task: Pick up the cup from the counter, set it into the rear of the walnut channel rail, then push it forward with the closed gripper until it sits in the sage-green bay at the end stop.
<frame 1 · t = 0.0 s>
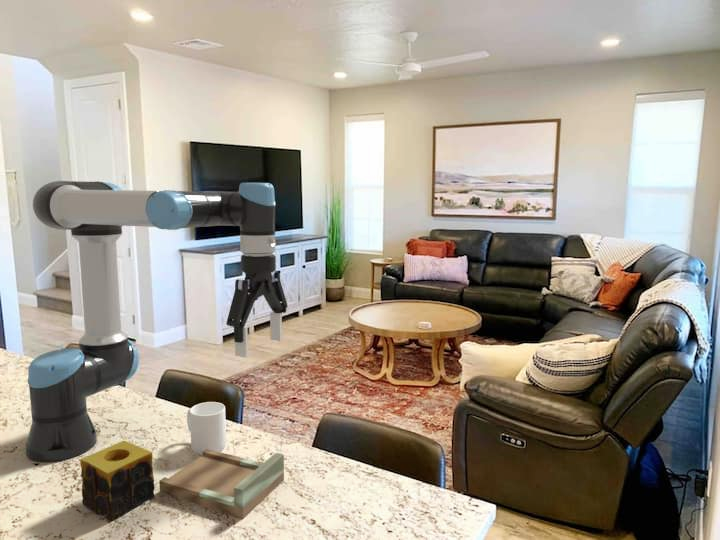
hand: (259, 347, 117), 28 cm above the kitchen island, fingers open, 13 cm apart
cup: (204, 446, 130), on the kitchen island
candle: (119, 502, 106), on the kitchen island
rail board: (223, 486, 111), on the kitchen island
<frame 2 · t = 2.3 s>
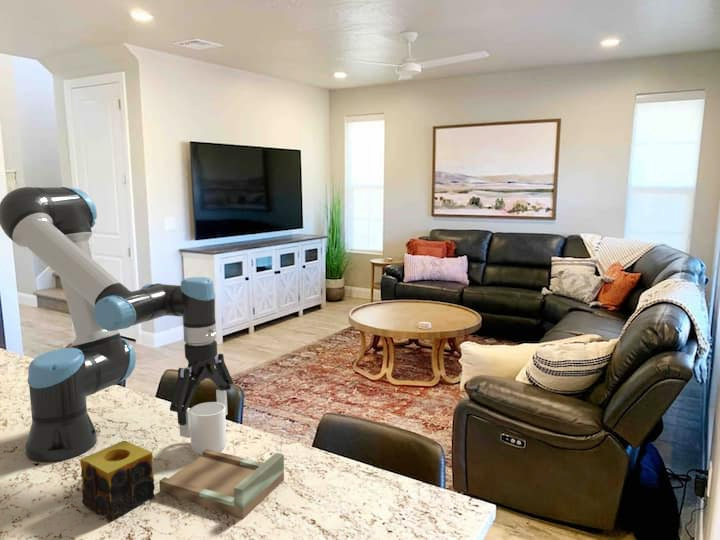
hand: (204, 424, 129), 5 cm above the kitchen island, fingers open, 13 cm apart
nothing on the kitchen island moved.
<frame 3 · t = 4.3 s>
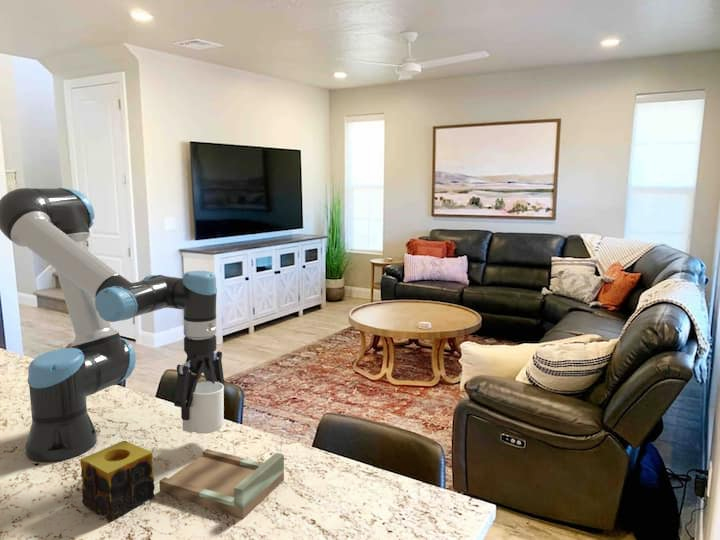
hand: (200, 423, 129), 6 cm above the kitchen island, fingers closed on cup, 8 cm apart
cup: (201, 424, 129), point 5 cm above the kitchen island, touching gripper
everything else where it was.
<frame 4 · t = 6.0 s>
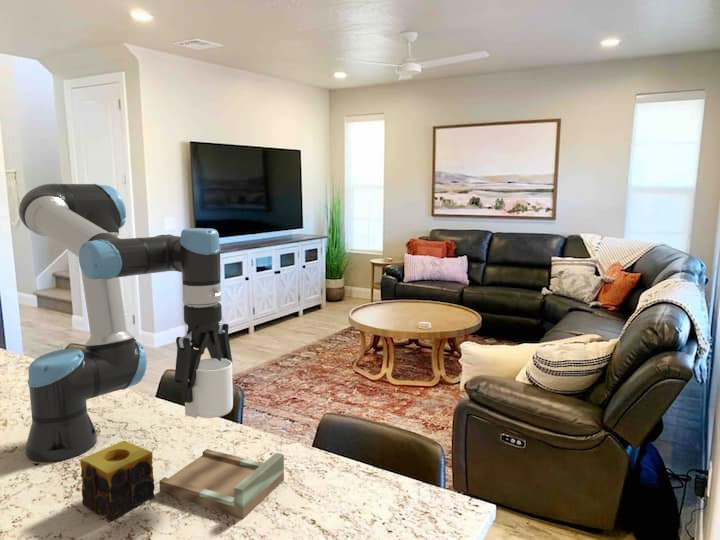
hand: (206, 407, 111), 17 cm above the kitchen island, fingers closed on cup, 8 cm apart
cup: (207, 409, 111), point 17 cm above the kitchen island, touching gripper
everything else where it was.
when the fingers open (3 cm above the kitchen island, at t = 7.9 s): cup stays where it is, resting on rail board.
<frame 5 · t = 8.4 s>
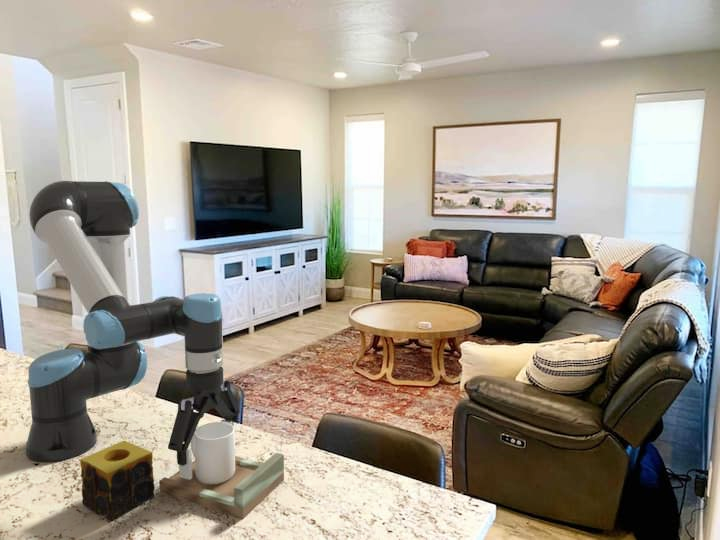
hand: (207, 462, 112), 5 cm above the kitchen island, fingers open, 13 cm apart
cup: (210, 473, 113), point 2 cm above the kitchen island, touching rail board
everything else where it was.
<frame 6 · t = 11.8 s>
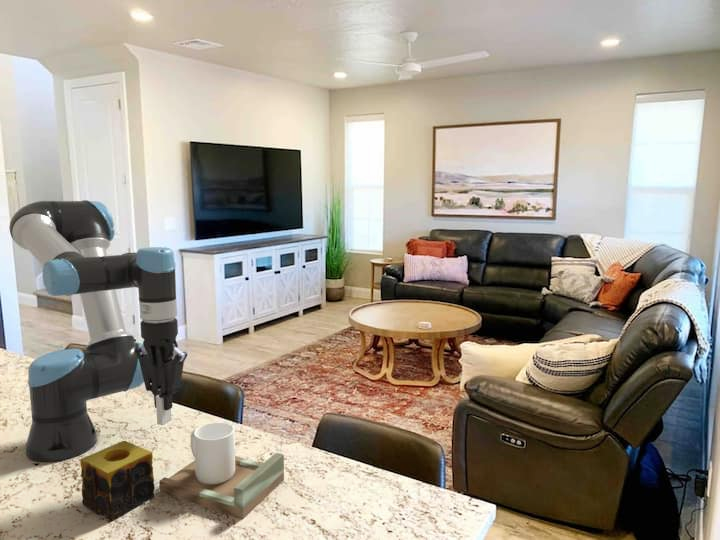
hand: (164, 422, 116), 12 cm above the kitchen island, fingers closed
nothing on the kitchen island moved.
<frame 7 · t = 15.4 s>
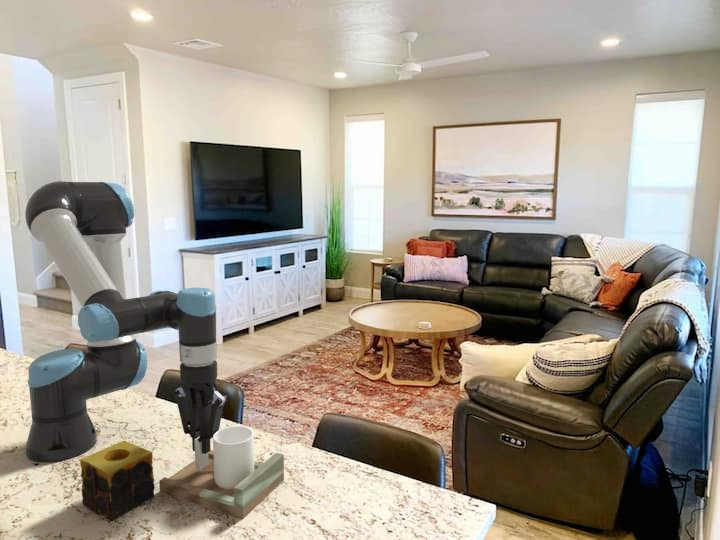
hand: (202, 465, 113), 4 cm above the kitchen island, fingers closed
cup: (230, 476, 112), point 2 cm above the kitchen island, touching hand, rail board
everything else where it was.
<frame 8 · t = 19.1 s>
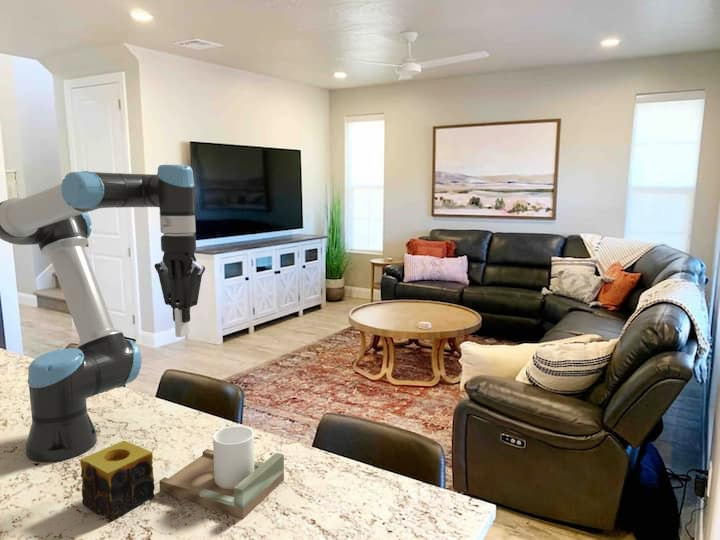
hand: (182, 335, 121), 29 cm above the kitchen island, fingers closed
cup: (230, 476, 112), point 2 cm above the kitchen island, touching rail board
everything else where it was.
at the end: cup inside the target area on the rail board (2.2 cm from its centre), point 1.8 cm above the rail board's base; cup touching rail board; cup tilted 0° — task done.
